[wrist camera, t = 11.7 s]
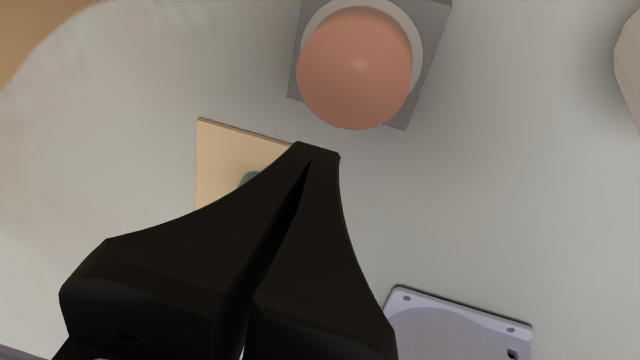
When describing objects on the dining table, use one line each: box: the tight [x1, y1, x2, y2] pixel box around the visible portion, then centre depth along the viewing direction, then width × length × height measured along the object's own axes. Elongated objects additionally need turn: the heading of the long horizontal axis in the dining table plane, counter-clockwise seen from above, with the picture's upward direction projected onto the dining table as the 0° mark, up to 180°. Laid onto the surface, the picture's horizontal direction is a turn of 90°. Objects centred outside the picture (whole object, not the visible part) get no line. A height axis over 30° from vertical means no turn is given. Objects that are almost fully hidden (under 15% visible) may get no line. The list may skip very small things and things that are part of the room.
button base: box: [287, 0, 452, 131], centre depth 20 cm, size 6×6×2 cm
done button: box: [296, 6, 413, 130], centre depth 19 cm, size 5×5×2 cm
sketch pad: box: [195, 117, 292, 211], centre depth 28 cm, size 8×9×1 cm
